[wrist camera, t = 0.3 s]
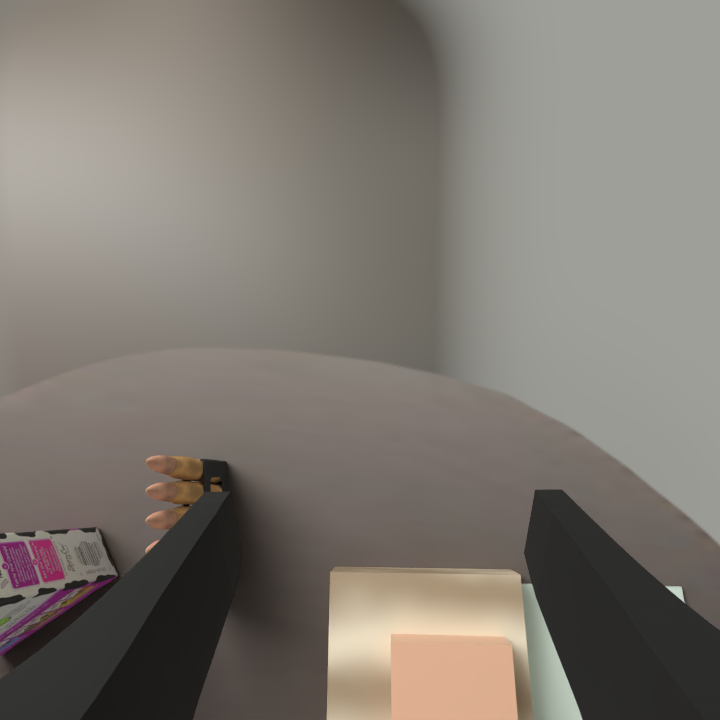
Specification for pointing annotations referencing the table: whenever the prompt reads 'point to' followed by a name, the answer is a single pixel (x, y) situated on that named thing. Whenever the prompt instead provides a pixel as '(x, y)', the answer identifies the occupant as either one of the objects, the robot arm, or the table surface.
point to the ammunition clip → (183, 486)
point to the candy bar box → (47, 577)
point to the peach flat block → (452, 678)
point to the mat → (550, 664)
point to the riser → (414, 627)
